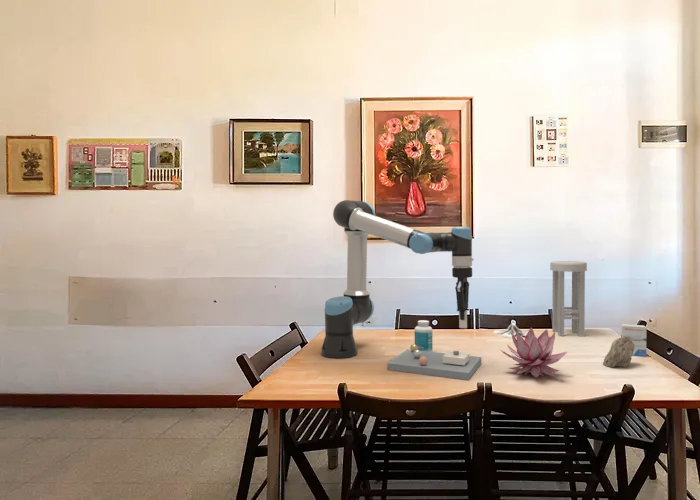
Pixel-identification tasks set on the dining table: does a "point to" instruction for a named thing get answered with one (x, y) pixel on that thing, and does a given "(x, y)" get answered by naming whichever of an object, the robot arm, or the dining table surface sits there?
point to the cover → (456, 358)
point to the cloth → (507, 332)
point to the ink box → (636, 337)
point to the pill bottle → (423, 336)
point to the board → (433, 365)
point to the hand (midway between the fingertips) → (463, 327)
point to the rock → (620, 352)
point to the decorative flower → (534, 353)
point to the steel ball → (417, 354)
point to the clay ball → (423, 360)
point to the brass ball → (413, 347)
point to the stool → (577, 296)
